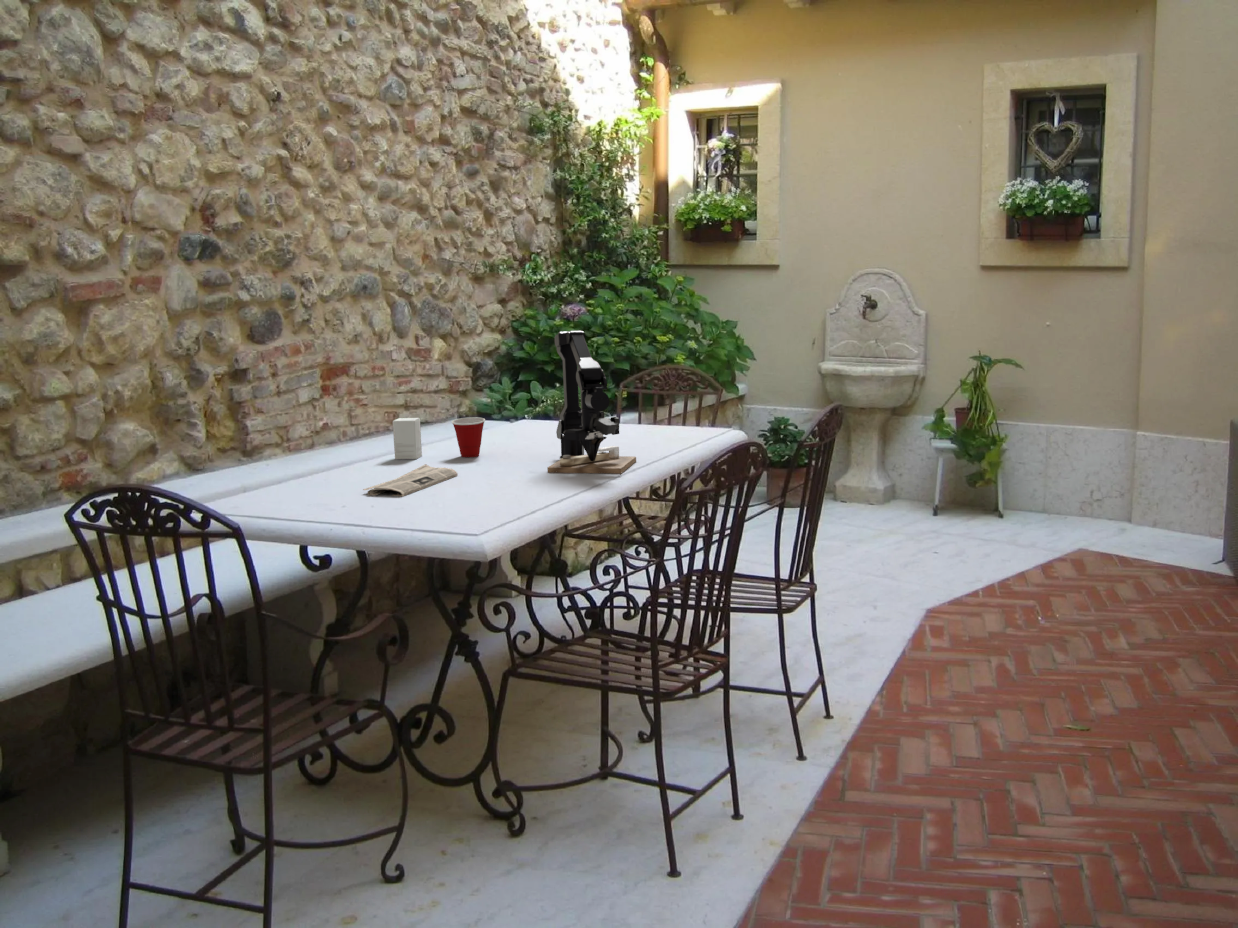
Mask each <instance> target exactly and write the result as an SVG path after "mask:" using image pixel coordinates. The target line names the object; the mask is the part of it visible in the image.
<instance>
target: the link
mask: <svg viewBox="0 0 1238 928" xmlns="http://www.w3.org/2000/svg"><path fill="white" fill-rule="evenodd" d="M605 459H609V452H607V451H604V452H597V455H596V459H595V461H599V460H605ZM559 460H560V465H561V466H571V465H575V464H581V463H587V462H593V461H590V459H589V457H588V455H587V454H584V455H581V456H574V457H570V455H563V458H559Z"/></svg>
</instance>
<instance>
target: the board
mask: <svg viewBox="0 0 1238 928" xmlns="http://www.w3.org/2000/svg"><path fill="white" fill-rule="evenodd" d="M570 457H574V456H570ZM636 462H637V456H623V455H622V456H620V455H619V458H609V459H605V460H599V461H593V462H587V463H581V464H575V465H571V466H561V465H560V459H559V460H558V461H556V462H554V463H551V465H549V466H547V473H549V474H550V473H553V474H559V473H561V474H623V472H625V471H626V470H627V469H629V468H630V467H631V466H632V465H634V464H636Z"/></svg>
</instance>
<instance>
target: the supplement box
mask: <svg viewBox="0 0 1238 928" xmlns="http://www.w3.org/2000/svg"><path fill="white" fill-rule="evenodd" d="M392 431H393V433H392V434H393V447H394V460H417V459H419V458H421V457H423V450H422V449H423V448H422V429H421V419H420V417H404V418H403V417H399V418H397V419H396V418H395V419H394V420H392Z"/></svg>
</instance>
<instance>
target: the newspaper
mask: <svg viewBox="0 0 1238 928" xmlns="http://www.w3.org/2000/svg"><path fill="white" fill-rule="evenodd" d="M458 474H459V473H458V472H457V471H456V470H455V469H453V468H448V467H434V466H429V465H428V464H423V465H421V466H418V467H417V468H415V469H414V470H411V471H409V472H407V473H405V474H403V475H401V476H399V477H397V478H394V479H391V480H387V481H385V482H382V483H378V484H376V485H373V486H370V487H366V488H363V489H362V491H367V496H378V495H381V494H384V493H387V492H390V491H393V492H397V493H394V494H391V495H390V496H391V497H405V496H408V495H410V494H413V493H416V492H419V491H421V490H424V489H426V488H429V487H432V486H435V485H436V484H440V483H443V482H445V481H446V482H447V481H448V480H450V479H453V478H456V477H458Z"/></svg>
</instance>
